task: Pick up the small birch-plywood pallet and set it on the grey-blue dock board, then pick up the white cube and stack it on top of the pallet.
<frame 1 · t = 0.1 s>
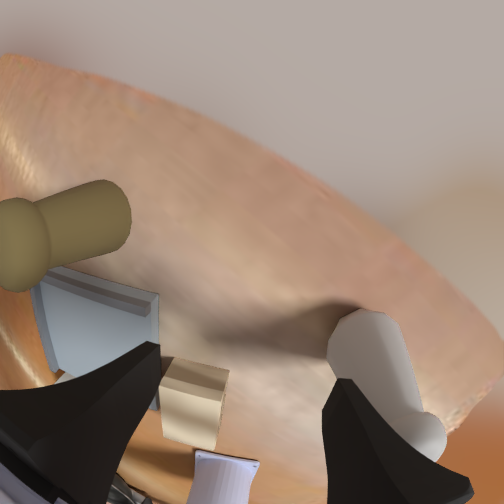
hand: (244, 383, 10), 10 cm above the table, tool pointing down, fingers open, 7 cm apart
frying pan: (118, 478, 35), on the table
salt shaker: (357, 329, 20), on the table
dock: (97, 335, 23), on the table
pallet: (199, 393, 23), on the table
pepper shaker: (102, 216, 19), on the table
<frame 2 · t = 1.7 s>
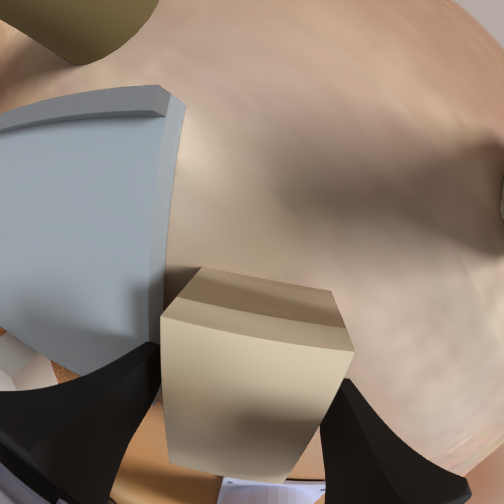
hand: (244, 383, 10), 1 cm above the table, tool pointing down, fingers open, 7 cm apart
dock: (47, 242, 11), on the table
white cube: (36, 357, 14), on the table
pallet: (249, 361, 11), on the table
pepper shaker: (107, 16, 8), on the table
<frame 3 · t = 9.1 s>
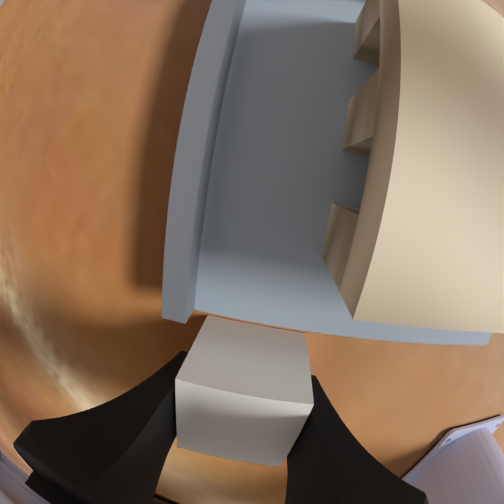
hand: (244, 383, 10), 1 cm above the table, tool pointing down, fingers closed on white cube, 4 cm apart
dock: (399, 156, 8), on the table
white cube: (248, 362, 11), on the table, touching gripper
pallet: (417, 148, 7), point 1 cm above the table, touching dock
when the fingers open (8 cm above the table, at t = 11.9 s): white cube stays where it is, resting on pallet.
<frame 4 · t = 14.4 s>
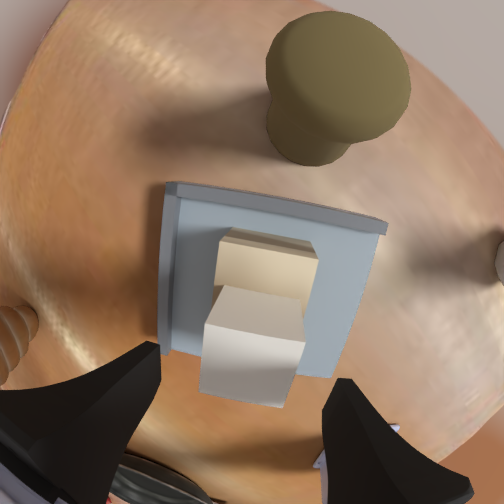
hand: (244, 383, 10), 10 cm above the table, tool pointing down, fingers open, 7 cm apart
frying pan: (191, 490, 32), on the table
cat ice cream: (34, 314, 24), on the table
dock: (262, 285, 20), on the table
white cube: (255, 325, 15), point 5 cm above the table, touching pallet
pallet: (260, 291, 18), point 1 cm above the table, touching white cube, dock
pepper shaker: (310, 124, 17), on the table
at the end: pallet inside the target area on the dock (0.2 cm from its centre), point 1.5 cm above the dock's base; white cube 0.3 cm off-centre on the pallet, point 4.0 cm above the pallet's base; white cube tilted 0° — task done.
